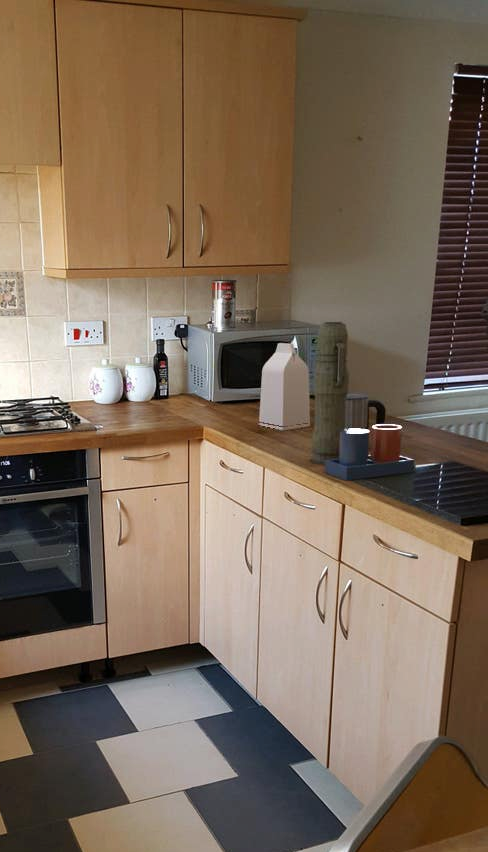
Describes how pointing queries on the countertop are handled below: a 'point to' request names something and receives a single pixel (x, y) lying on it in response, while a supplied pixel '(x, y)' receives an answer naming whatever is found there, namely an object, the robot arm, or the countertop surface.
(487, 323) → the robot arm
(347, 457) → the slate blue mug
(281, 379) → the milk
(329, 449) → the thermos
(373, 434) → the terracotta cup
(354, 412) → the milk frother
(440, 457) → the countertop surface
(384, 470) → the sorter
